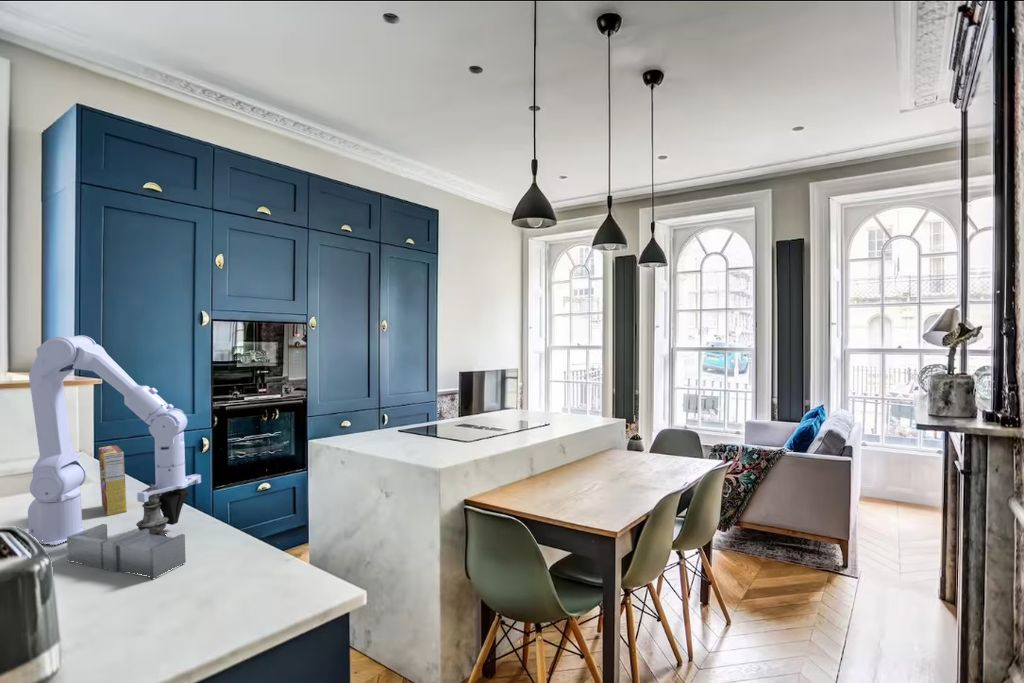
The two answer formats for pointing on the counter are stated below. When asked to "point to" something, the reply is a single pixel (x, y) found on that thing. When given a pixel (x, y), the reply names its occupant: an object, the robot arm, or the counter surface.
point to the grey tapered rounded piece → (153, 514)
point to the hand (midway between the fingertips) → (171, 523)
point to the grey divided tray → (127, 551)
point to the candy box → (112, 479)
